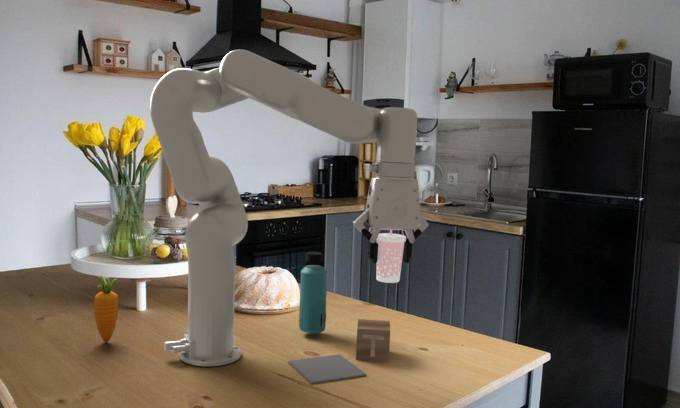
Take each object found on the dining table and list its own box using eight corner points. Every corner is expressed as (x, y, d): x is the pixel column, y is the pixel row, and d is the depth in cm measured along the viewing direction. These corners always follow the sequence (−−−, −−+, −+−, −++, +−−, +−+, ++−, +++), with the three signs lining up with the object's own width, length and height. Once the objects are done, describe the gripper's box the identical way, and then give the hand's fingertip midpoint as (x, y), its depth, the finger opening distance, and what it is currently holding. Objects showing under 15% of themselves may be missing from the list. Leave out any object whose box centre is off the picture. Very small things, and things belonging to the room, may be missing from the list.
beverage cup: (386, 275, 132) (391, 207, 130) (409, 281, 127) (414, 211, 126) (366, 278, 127) (370, 209, 126) (389, 285, 123) (394, 213, 121)
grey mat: (311, 384, 122) (311, 382, 122) (288, 362, 133) (288, 361, 133) (366, 375, 128) (366, 373, 128) (339, 356, 138) (339, 354, 138)
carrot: (123, 341, 142) (123, 275, 140) (106, 348, 137) (106, 279, 136) (106, 337, 144) (106, 272, 142) (89, 344, 139) (88, 276, 138)
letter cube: (388, 362, 136) (390, 330, 135) (355, 360, 136) (357, 328, 136) (387, 351, 143) (389, 320, 142) (356, 349, 143) (358, 319, 143)
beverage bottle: (322, 340, 148) (325, 255, 146) (294, 337, 149) (297, 253, 147) (328, 332, 154) (331, 251, 152) (301, 329, 156) (304, 248, 153)
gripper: (358, 171, 119) (352, 266, 121) (443, 174, 124) (436, 265, 126) (347, 168, 126) (342, 257, 128) (427, 171, 131) (421, 257, 133)
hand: (389, 260), depth 127 cm, fingers closed on beverage cup, 6 cm apart
